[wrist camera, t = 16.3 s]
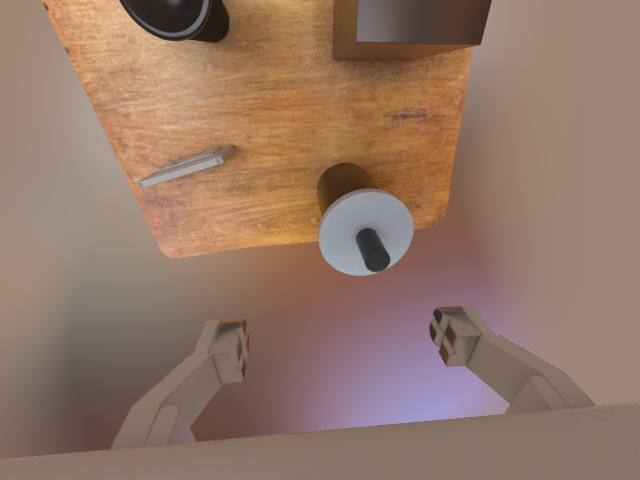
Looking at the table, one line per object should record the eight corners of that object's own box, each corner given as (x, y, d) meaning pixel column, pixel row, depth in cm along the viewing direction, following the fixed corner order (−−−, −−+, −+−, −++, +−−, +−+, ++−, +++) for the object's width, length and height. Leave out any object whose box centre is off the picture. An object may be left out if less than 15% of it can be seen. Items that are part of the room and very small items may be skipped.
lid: (417, 187, 30) (444, 209, 24) (401, 268, 35) (420, 300, 30) (318, 189, 29) (323, 212, 23) (318, 272, 34) (322, 306, 29)
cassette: (232, 141, 40) (219, 152, 33) (237, 153, 41) (226, 166, 34) (159, 164, 41) (133, 179, 34) (166, 175, 42) (141, 192, 35)
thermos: (372, 162, 43) (407, 196, 30) (367, 213, 48) (395, 262, 35) (317, 163, 43) (326, 197, 29) (317, 215, 47) (325, 265, 34)
